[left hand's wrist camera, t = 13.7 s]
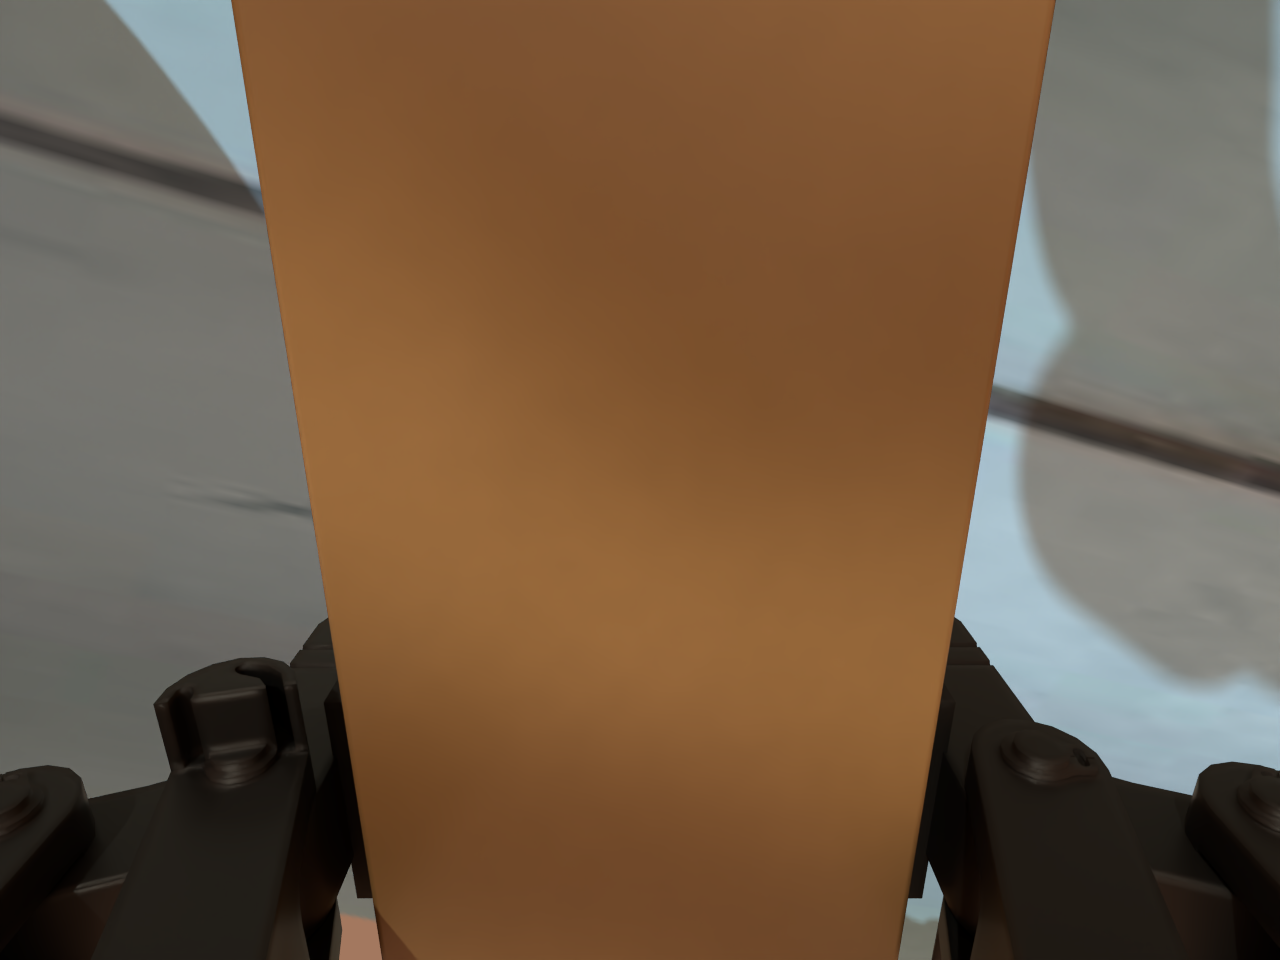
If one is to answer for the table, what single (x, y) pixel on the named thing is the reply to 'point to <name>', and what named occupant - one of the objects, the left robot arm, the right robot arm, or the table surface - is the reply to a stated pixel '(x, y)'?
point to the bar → (641, 443)
